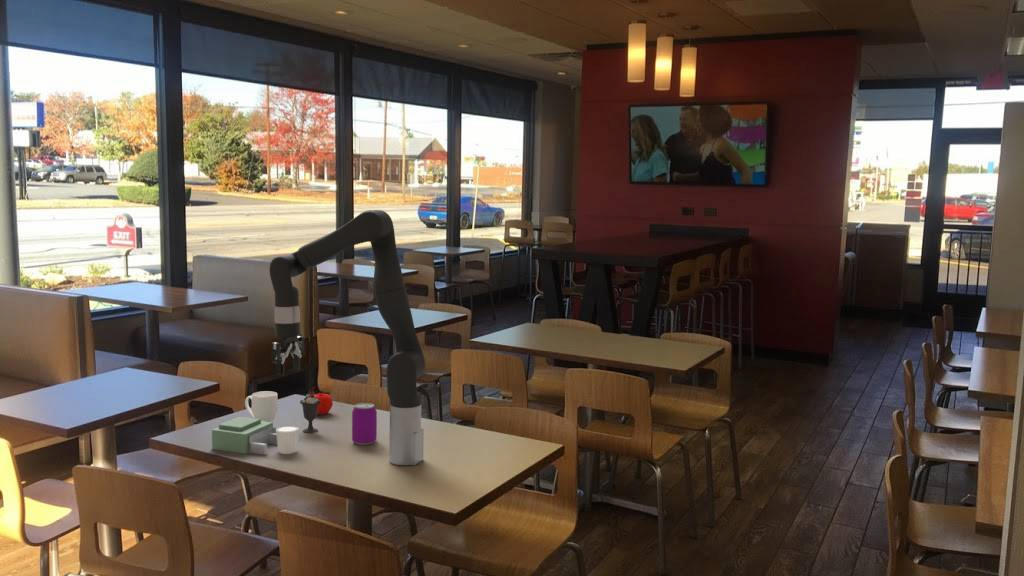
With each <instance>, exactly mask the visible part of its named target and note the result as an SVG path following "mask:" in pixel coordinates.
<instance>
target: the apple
mask: <svg viewBox="0 0 1024 576" xmlns="http://www.w3.org/2000/svg"><path fill="white" fill-rule="evenodd" d="M315 395H316V398H317V399H318V400H320V403H319V404H318V411H317V415H327V414H328V413H330V411H331V410H332V409H333V405H334V404H333V403H334V402H333V398H332V396H331V395H329V394H328V393H316V394H315Z"/></svg>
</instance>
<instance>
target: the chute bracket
mask: <svg viewBox="0 0 1024 576" xmlns="http://www.w3.org/2000/svg"><path fill="white" fill-rule="evenodd" d="M269 444H273V445H277V436H276V432H273V433H272V427H268V428H266V429H264V430H261V431H259V432H257V433H255V434H252V435H250V436H248V453H250V454H257V455H263V456H264V455H267V454H268V445H269Z"/></svg>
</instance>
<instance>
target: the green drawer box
mask: <svg viewBox="0 0 1024 576" xmlns="http://www.w3.org/2000/svg"><path fill="white" fill-rule="evenodd" d="M273 424H274V422H265V421H261V419H254V418H253V417H244V416H237V417H235V418H232V419H229V420H227V421H225V422H221V423H220V424H218V427H215V428H213V429H211V449H212V450H216V451H217V450H218V451H223V452H224V451H225V452H231V453H232V452H233V453H236V454H237V453H240V454H248V453H249V452H248V436H250V435H252V434H255V433H257V432H259V431H261V430H264V429H266V428H268V427H272V433H274V429H273V428H274V425H273Z"/></svg>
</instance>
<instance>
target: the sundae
mask: <svg viewBox="0 0 1024 576" xmlns="http://www.w3.org/2000/svg"><path fill="white" fill-rule="evenodd" d="M313 390H315V387H312V389H311V391H310V392H307V393H306V394H305V397H304V398H303V399H300V400H299V403H300V404H301V406H302V412H303V417H304V419H305V420H307V421H308V426H307V428H305V429H303V430H302V432H303V433H304V434H305V433H306V434H314V432H315V433H318V431H319V429H318V428H314V426H313V421H314V420H315V419H316V418H317V416H318V414H317V411H318V404H319V403H320V400H318V399H317V398H316V394H315V392H314V391H313Z"/></svg>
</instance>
